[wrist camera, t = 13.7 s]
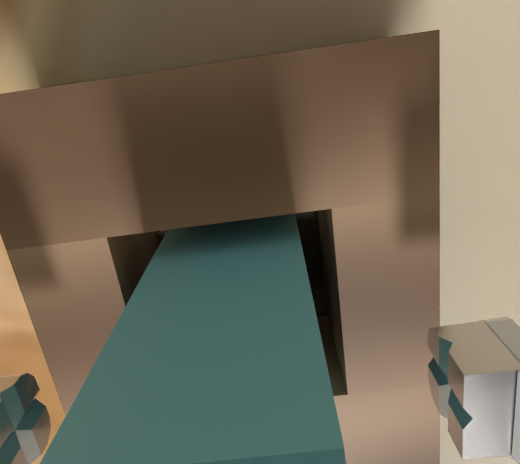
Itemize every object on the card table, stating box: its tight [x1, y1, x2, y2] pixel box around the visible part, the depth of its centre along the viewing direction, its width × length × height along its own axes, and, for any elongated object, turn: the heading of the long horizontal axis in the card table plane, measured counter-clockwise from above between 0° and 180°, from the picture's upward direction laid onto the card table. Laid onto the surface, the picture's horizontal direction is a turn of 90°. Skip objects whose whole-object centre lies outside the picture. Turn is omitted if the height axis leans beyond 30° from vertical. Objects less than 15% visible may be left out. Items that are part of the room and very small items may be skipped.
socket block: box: [0, 30, 440, 464], centre depth 15 cm, size 24×10×4 cm, turn 8°
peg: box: [40, 213, 346, 464], centre depth 11 cm, size 4×4×10 cm
